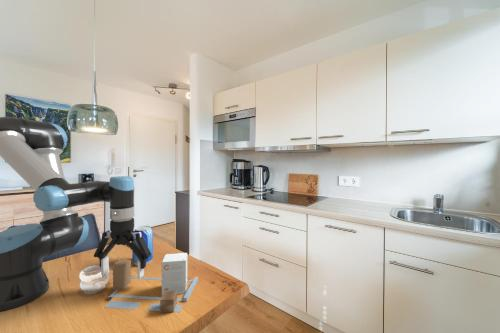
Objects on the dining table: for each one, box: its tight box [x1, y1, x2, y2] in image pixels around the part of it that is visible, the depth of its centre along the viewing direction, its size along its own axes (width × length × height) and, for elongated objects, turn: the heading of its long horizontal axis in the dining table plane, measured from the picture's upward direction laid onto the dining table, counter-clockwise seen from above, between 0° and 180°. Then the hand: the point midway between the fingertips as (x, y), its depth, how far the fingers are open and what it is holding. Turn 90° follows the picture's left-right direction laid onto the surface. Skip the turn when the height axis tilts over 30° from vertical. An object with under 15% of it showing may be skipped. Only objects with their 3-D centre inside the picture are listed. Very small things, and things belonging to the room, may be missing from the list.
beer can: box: [131, 225, 154, 267], centre depth 96 cm, size 8×8×16 cm
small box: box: [161, 252, 188, 296], centre depth 75 cm, size 8×6×13 cm
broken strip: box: [104, 300, 184, 313], centre depth 66 cm, size 24×3×1 cm, turn 87°
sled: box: [107, 259, 199, 302], centre depth 75 cm, size 29×12×10 cm, turn 87°
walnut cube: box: [159, 291, 178, 314], centre depth 65 cm, size 4×4×4 cm
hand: (122, 276), depth 76 cm, fingers open, 13 cm apart
